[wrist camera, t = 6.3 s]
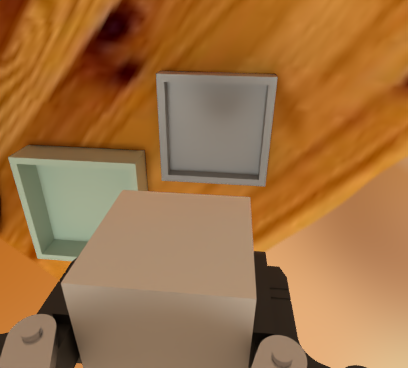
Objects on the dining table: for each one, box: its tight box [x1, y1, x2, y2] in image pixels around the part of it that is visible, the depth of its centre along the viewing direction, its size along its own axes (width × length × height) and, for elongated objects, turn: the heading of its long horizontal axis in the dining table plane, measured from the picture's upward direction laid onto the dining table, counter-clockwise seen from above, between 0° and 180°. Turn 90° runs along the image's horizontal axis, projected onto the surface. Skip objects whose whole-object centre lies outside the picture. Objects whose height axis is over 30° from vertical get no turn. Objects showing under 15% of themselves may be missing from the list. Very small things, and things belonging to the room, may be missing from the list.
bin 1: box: [8, 145, 148, 261], centre depth 31 cm, size 11×11×3 cm
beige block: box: [61, 190, 257, 368], centre depth 11 cm, size 5×5×5 cm
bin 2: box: [156, 71, 278, 186], centre depth 27 cm, size 9×9×2 cm
